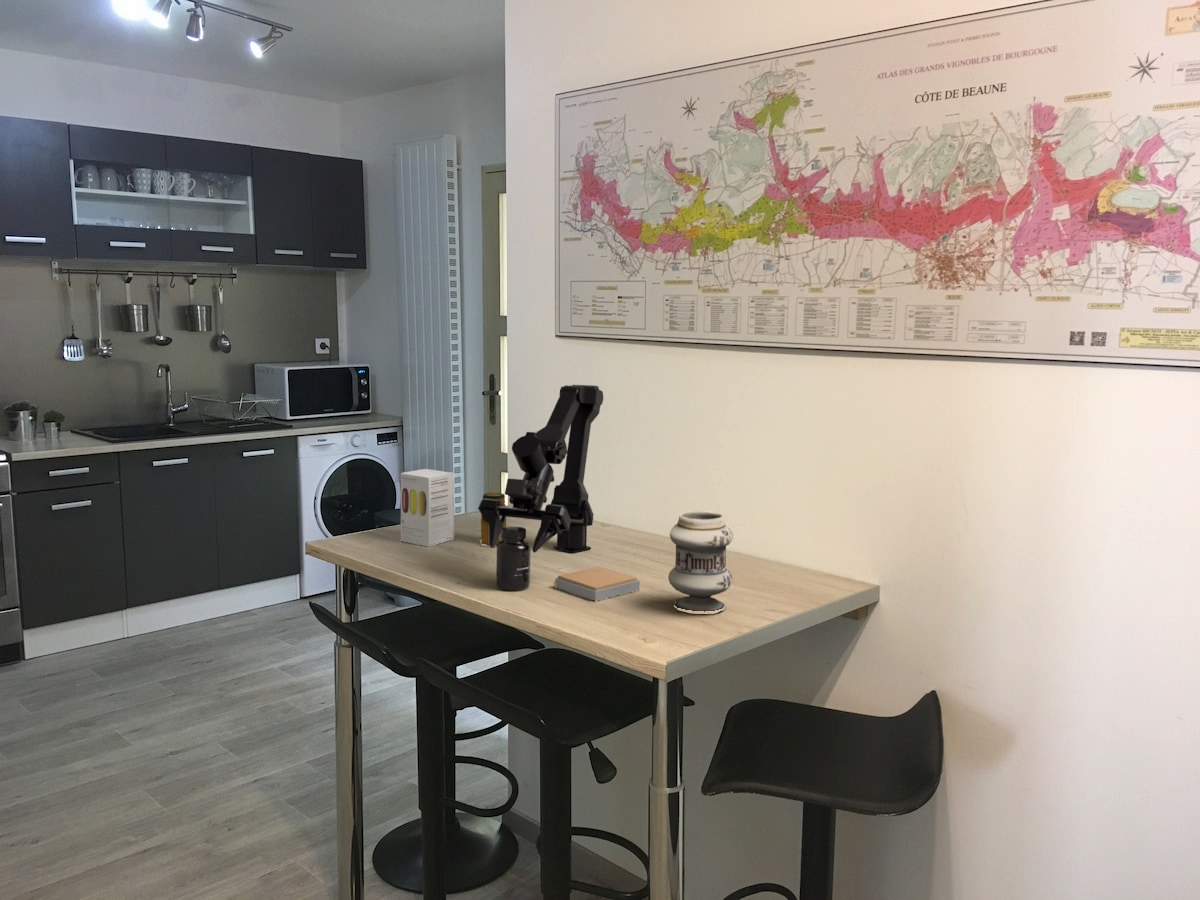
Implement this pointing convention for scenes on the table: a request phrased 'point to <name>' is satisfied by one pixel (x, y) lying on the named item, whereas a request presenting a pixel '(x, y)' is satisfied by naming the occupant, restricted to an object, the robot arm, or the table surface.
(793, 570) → the table surface
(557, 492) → the robot arm
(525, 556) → the supplement bottle
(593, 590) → the note pad
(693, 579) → the apothecary jar
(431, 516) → the supplement box
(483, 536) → the condiment
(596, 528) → the table surface
